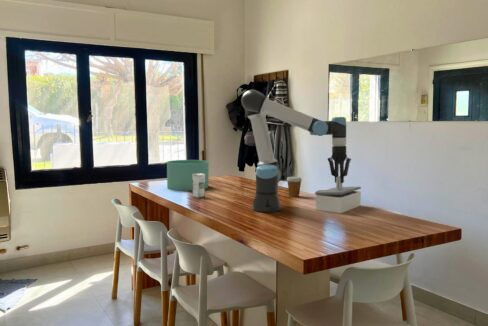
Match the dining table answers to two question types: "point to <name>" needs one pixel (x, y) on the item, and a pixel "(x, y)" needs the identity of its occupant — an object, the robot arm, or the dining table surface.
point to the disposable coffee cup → (294, 186)
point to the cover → (337, 191)
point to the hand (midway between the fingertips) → (339, 188)
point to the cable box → (338, 202)
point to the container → (185, 173)
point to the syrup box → (198, 185)
